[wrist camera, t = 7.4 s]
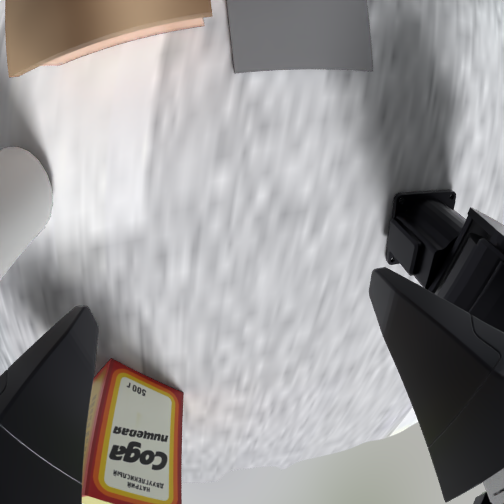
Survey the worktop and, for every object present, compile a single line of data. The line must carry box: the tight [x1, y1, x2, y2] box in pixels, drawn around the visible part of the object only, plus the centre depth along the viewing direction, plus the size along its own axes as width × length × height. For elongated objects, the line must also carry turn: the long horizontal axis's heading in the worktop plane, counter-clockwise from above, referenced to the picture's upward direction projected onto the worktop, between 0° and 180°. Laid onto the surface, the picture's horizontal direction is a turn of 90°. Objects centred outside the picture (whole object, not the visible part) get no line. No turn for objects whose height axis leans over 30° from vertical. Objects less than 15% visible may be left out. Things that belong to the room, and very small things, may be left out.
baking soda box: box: [82, 358, 183, 504], centre depth 25 cm, size 10×6×16 cm
